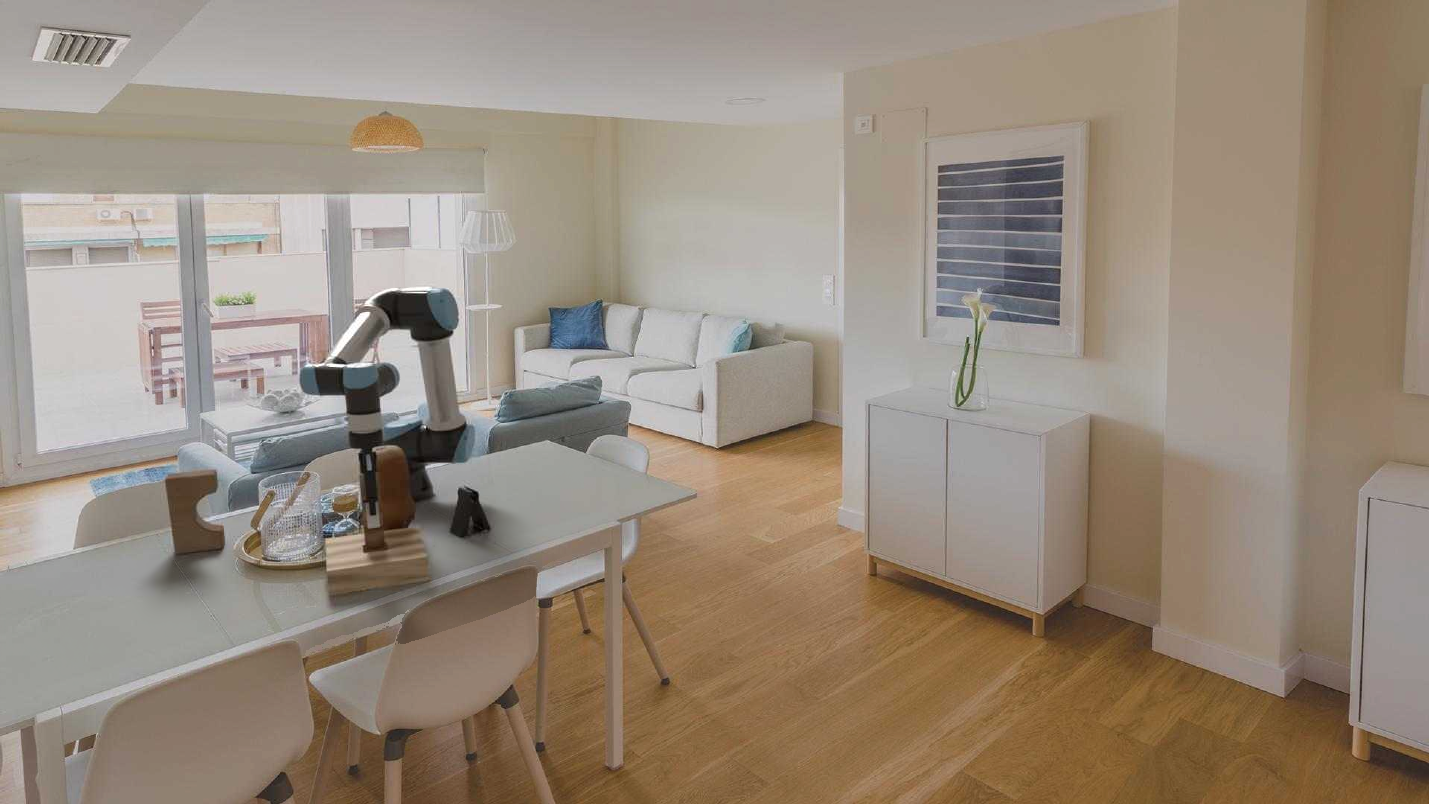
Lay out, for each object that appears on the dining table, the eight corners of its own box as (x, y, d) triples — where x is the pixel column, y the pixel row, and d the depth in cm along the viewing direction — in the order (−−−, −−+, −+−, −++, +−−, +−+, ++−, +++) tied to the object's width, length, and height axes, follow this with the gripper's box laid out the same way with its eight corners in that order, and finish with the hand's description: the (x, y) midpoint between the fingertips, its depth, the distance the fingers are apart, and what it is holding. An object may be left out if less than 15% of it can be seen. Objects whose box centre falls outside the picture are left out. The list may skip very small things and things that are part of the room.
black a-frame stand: (461, 538, 248) (458, 494, 245) (449, 532, 252) (447, 489, 250) (491, 529, 254) (488, 487, 252) (479, 524, 258) (476, 482, 256)
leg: (364, 544, 226) (358, 472, 222) (384, 541, 228) (378, 470, 224) (365, 550, 222) (359, 478, 218) (385, 547, 224) (379, 475, 220)
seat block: (327, 561, 232) (325, 538, 231) (419, 548, 241) (418, 526, 239) (329, 595, 213) (326, 571, 211) (429, 580, 221) (427, 556, 220)
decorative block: (225, 541, 245) (216, 468, 241) (223, 549, 240) (214, 474, 236) (178, 547, 241) (168, 473, 237) (174, 555, 236) (164, 479, 232)
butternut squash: (364, 532, 252) (356, 442, 247) (416, 525, 257) (409, 437, 252) (365, 550, 240) (357, 456, 234) (420, 543, 244) (413, 450, 239)
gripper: (346, 422, 225) (355, 514, 230) (349, 439, 210) (358, 538, 215) (379, 419, 228) (387, 510, 233) (384, 436, 212) (392, 533, 218)
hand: (373, 523), depth 224 cm, fingers closed on leg, 4 cm apart
